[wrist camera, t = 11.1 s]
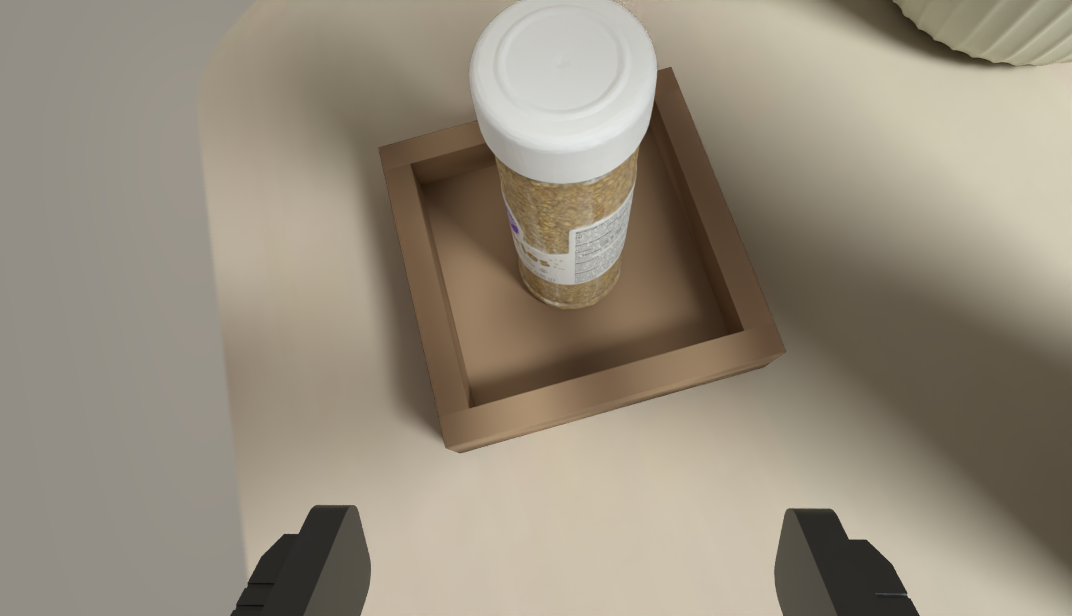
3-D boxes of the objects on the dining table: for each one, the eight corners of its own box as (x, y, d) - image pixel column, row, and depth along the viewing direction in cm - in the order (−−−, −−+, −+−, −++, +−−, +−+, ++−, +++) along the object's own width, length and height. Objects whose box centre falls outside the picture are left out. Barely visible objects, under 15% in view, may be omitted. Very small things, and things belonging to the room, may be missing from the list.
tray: (662, 107, 31) (671, 67, 28) (763, 367, 27) (785, 351, 24) (397, 180, 30) (378, 147, 28) (459, 453, 26) (445, 447, 24)
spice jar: (500, 250, 28) (430, 41, 15) (585, 197, 28) (587, -50, 16) (556, 333, 27) (532, 181, 14) (645, 276, 27) (700, 78, 14)
